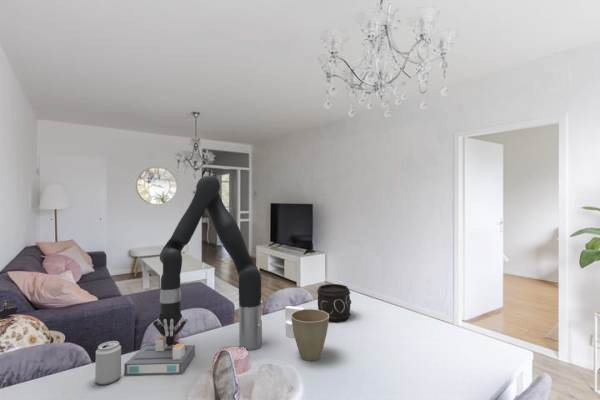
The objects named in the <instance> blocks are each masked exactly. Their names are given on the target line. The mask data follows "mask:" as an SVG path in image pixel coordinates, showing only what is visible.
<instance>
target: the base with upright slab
mask: <svg viewBox="0 0 600 400" xmlns="http://www.w3.org/2000/svg"><path fill="white" fill-rule="evenodd" d="M304 309H306V308H305V307H300V306H292V305H290V306H289V305H287V306H285V309H284V311H285V312H284V315H285V316H284V317H285V319H284V321H285V325H284V327H285V329H284V330H285V337H287V338H290V339H295V336H294V332H293V326H292V319H291V314H292V313H294V312H296V311H299V310H304Z"/></svg>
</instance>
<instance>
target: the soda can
mask: <svg viewBox="0 0 600 400" xmlns="http://www.w3.org/2000/svg"><path fill="white" fill-rule="evenodd" d="M161 324H162V323H161ZM162 325H163V324H162ZM163 326H164V325H163ZM179 326H180V321H179V322H178V324H177V325H176V330H177V329H178V327H179ZM160 337H166V335H161V334H160ZM179 338H180V332H179V333H178V334H177V335H175V343H174V344H173V345H175V344H179V342H180V341H179ZM173 345H172V346H173ZM167 346H168V344H167Z"/></svg>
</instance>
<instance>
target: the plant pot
mask: <svg viewBox="0 0 600 400" xmlns="http://www.w3.org/2000/svg"><path fill="white" fill-rule="evenodd" d="M291 319H292V326H293V332H294V336H295V338H294V339H295V344H296V346H297V347H296V348H297V350H298V352H299V355H300V358H301V359H302V360H305V361H308V362H313V361H317V360H319V359H320V357H321V354H322V352H323V349H324V345H325V342H326V338H327V335H328V334H327V333H328V328H329V323H330V322H329V314H328V313H326V312H324V311H321V310H318V309H313V308H308V309H307V308H305V309H304V310H299V311H296V312H294V313H292V314H291Z"/></svg>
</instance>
